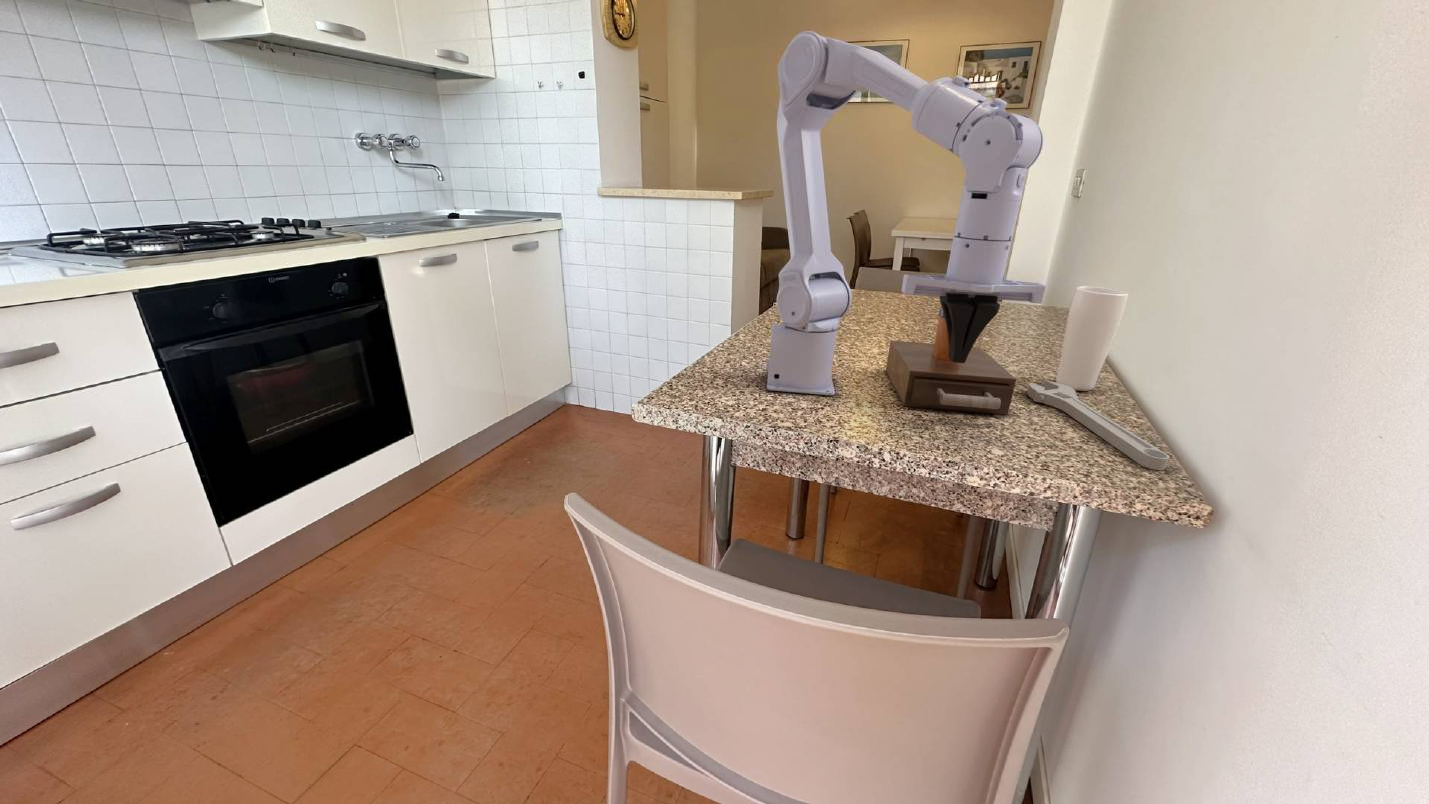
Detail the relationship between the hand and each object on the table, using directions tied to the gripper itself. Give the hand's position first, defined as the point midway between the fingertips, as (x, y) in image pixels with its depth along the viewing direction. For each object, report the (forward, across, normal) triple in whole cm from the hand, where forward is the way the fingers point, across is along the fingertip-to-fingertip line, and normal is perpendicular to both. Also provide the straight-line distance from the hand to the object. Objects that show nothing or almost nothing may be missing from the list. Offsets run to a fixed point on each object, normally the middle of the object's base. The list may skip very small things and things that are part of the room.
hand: (956, 360), depth 66 cm
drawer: (+8, +4, +13) cm, 16 cm away
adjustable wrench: (+10, +20, +8) cm, 24 cm away
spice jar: (+4, +4, +17) cm, 18 cm away
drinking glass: (+10, +26, +24) cm, 37 cm away
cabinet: (+9, +4, +16) cm, 19 cm away
